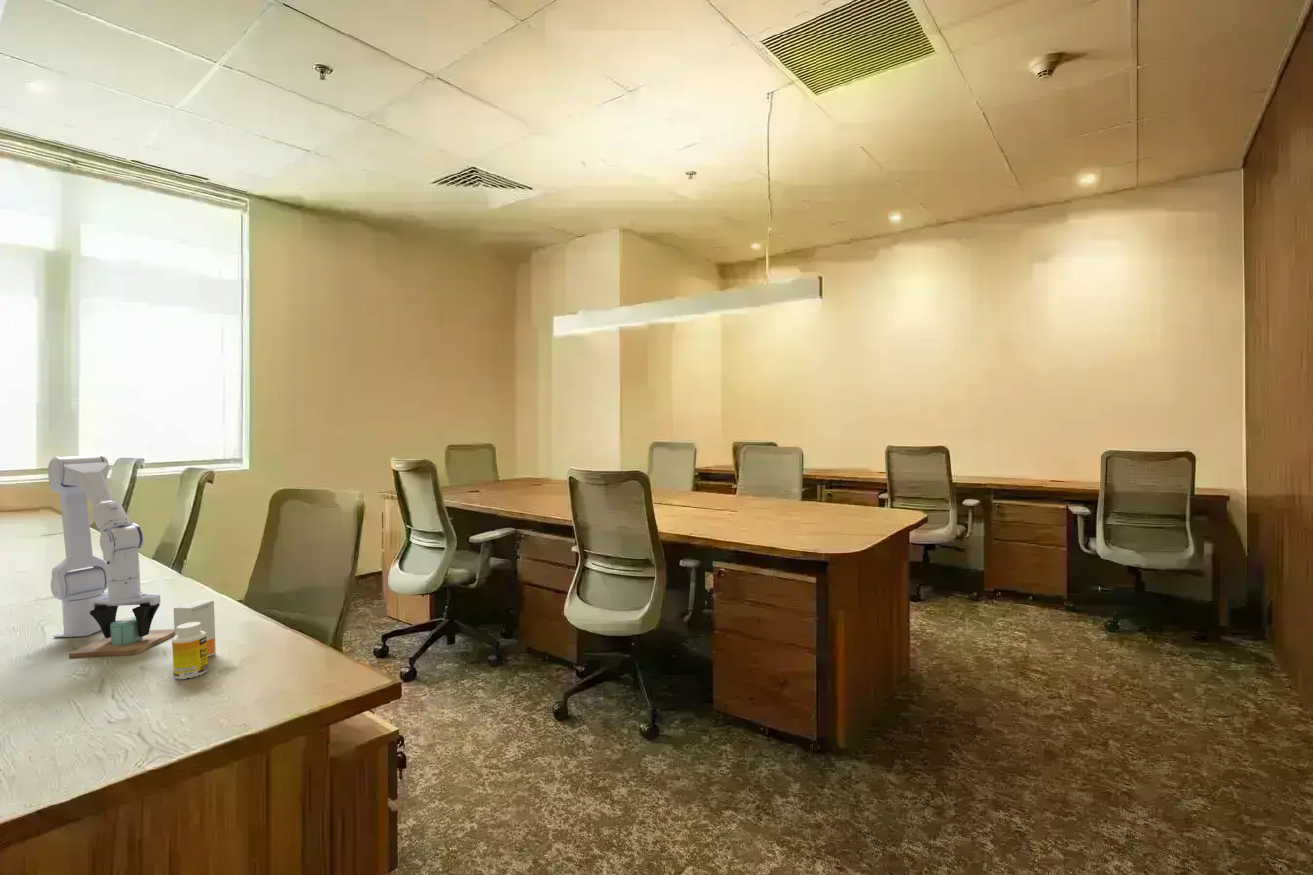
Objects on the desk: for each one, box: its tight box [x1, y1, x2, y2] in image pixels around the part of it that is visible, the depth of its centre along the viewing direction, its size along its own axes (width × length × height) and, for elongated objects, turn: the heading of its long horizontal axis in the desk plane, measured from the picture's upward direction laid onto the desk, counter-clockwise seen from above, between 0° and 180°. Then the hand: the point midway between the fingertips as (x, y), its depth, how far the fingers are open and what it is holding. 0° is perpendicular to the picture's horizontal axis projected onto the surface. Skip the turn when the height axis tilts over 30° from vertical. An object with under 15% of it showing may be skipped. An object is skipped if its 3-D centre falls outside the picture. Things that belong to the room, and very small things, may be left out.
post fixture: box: [68, 628, 175, 659], centre depth 144 cm, size 14×14×4 cm
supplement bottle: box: [171, 622, 209, 680], centre depth 126 cm, size 6×6×10 cm
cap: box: [110, 616, 143, 645], centre depth 144 cm, size 5×5×5 cm
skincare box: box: [173, 599, 217, 658], centre depth 134 cm, size 6×4×12 cm
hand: (127, 636), depth 144 cm, fingers open, 7 cm apart
